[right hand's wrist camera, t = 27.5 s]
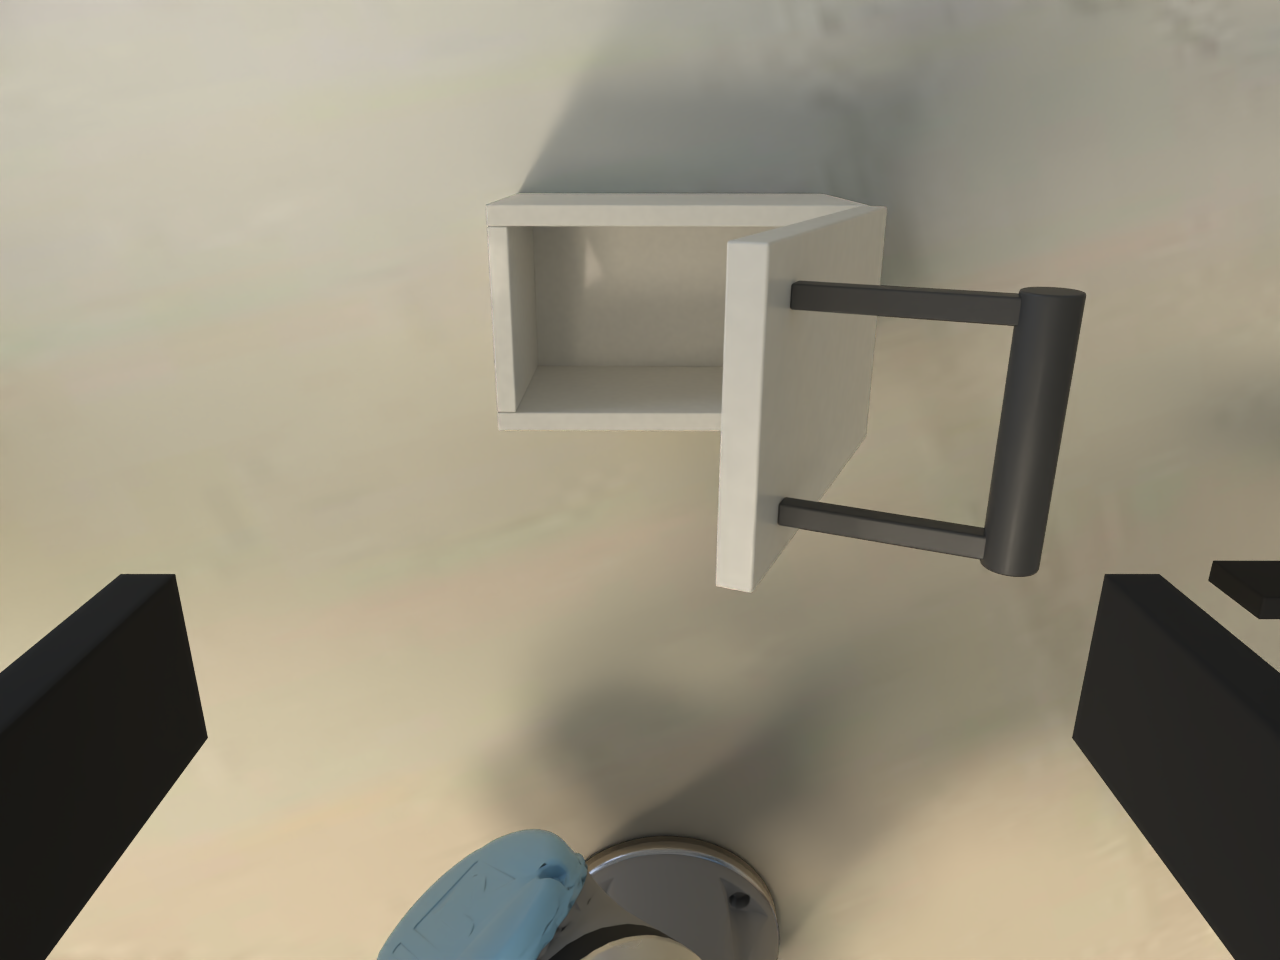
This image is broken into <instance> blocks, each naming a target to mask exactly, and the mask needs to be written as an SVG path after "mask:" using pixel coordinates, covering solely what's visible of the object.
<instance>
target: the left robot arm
mask: <svg viewBox="0 0 1280 960" xmlns="http://www.w3.org/2000/svg"><path fill="white" fill-rule="evenodd" d="M1208 581H1210V582H1211V583H1212V584H1214V585H1215V586H1216V587H1217V588H1219V589H1220V590H1221V591H1223V592H1224V593H1225V594H1227V595H1228V596H1229V597H1231V598H1232V599H1233V600H1235V601H1236V602H1237V603H1239V604H1240V605H1241V606H1242V607H1244V608H1245V609H1246V610H1248V611H1249V612H1250V613H1252V614H1253V615H1254V616H1256V617H1257V618H1258V619H1280V561H1213V563H1212V567H1211V572H1210V576H1209V580H1208ZM778 952H779V929H778V922H777V917H776V911H775V906H774V902H773V899H772V897H771V894H770V892H769V890H768V888H767V886H766V884H765V883H764V881H763V880H762V878H761V877H760V876H759V875H758V874H757V872H756V871H755V870H754V869H753V868H752V867H751V866H750V865H748V864H747V863H746V862H745V861H743V860H742V859H741V858H739V857H738V856H736V855H735V854H733V853H731V852H730V851H728V850H726V849H723V848H721V847H719V846H716V845H714V844H711V843H708V842H705V841H701V840H697V839H692V838H686V837H678V836H654V837H645V838H639V839H634V840H630V841H627V842H623V843H620V844H617V845H615V846H612V847H610V848H608V849H606V850H604V851H602V852H600V853H598V854H596V855H595V856H593V857H592V858H590V859H589V860H588V861H586V862H585V860H584V858H583V856H582V855H581V854H579V853H574V852H573V850H572V849H571V848H570V847H569V846H568V845H567V844H566V843H565V842H564V841H563V840H562V839H561V838H560V837H559V836H557V835H556V834H553V833H551V832H549V831H544V830H537V829H530V830H522V831H518V832H514V833H510V834H507V835H505V836H502V837H500V838H497V839H495V840H493V841H491V842H490V843H488V844H487V845H485V846H484V847H482V848H480V849H478V850H476V851H474V852H473V853H471V854H470V855H468V856H467V857H465V858H464V859H463V860H461V861H460V862H458V863H457V864H456V865H455V866H453V867H452V868H451V869H450V870H449V871H447V872H446V873H445V874H444V875H443V876H442V877H441V878H439V879H438V880H437V881H436V882H435V883H434V884H433V885H432V886H431V887H430V888H429V889H428V890H427V891H426V892H425V893H424V894H423V895H422V896H421V897H420V898H419V899H418V901H417V902H416V903H415V904H414V905H413V906H412V907H411V908H410V910H409V911H408V912H407V913H406V915H405V916H404V917H403V918H402V920H401V921H400V922H399V923H398V925H397V926H396V928H395V929H394V930H393V932H392V933H391V935H390V936H389V937H388V939H387V941H386V942H385V944H384V946H383V947H382V949H381V951H380V952H379V955H378V958H377V960H777V959H778Z"/></svg>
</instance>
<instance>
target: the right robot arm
mask: <svg viewBox="0 0 1280 960" xmlns="http://www.w3.org/2000/svg"><path fill="white" fill-rule="evenodd" d="M207 738H208V736H207V731H206V726H205V721H204V716H203V711H202V706H201V701H200V696H199V691H198V686H197V681H196V676H195V671H194V666H193V661H192V656H191V651H190V646H189V641H188V636H187V631H186V626H185V621H184V616H183V611H182V606H181V601H180V596H179V591H178V586H177V581H176V576H175V574H120V575H119V576H118V577H117V578H116V579H114V580H113V581H112V582H111V583H109V584H108V585H107V586H106V587H105V588H103V589H102V590H101V591H100V592H98V593H97V594H96V595H95V596H94V597H92V598H91V599H90V600H89V601H87V602H86V603H85V604H84V605H83V606H81V607H80V608H79V609H78V610H77V611H75V612H74V613H73V614H72V615H70V616H69V617H68V618H67V619H66V620H64V621H63V622H62V623H61V624H59V625H58V626H57V627H56V628H55V629H53V630H52V631H51V632H50V633H48V634H47V635H46V636H45V637H44V638H42V639H41V640H40V641H39V642H37V643H36V644H35V645H34V646H33V647H31V648H30V649H29V650H28V651H27V652H25V653H24V654H23V655H22V656H20V657H19V658H18V659H17V660H16V661H14V662H13V663H12V664H11V665H9V666H8V667H7V668H6V669H5V670H3V671H2V672H1V673H0V960H45V959H46V958H47V956H48V955H49V954H50V952H51V951H52V950H53V948H54V947H55V946H56V944H57V943H58V941H59V940H60V939H61V937H62V936H63V935H64V933H65V932H66V931H67V929H68V928H69V926H70V925H71V924H72V922H73V921H74V920H75V918H76V917H77V916H78V914H79V913H80V911H81V910H82V909H83V907H84V906H85V905H86V903H87V902H88V901H89V899H90V898H91V896H92V895H93V894H94V892H95V891H96V890H97V888H98V887H99V886H100V884H101V883H102V881H103V880H104V879H105V877H106V876H107V875H108V873H109V872H110V871H111V869H112V868H113V866H114V865H115V864H116V862H117V861H118V860H119V858H120V857H121V856H122V854H123V853H124V851H125V850H126V849H127V847H128V846H129V845H130V843H131V842H132V841H133V839H134V838H135V836H136V835H137V834H138V832H139V831H140V830H141V828H142V827H143V826H144V824H145V823H146V821H147V820H148V819H149V817H150V816H151V815H152V813H153V812H154V811H155V809H156V808H157V806H158V805H159V804H160V802H161V801H162V800H163V798H164V797H165V796H166V794H167V793H168V791H169V790H170V789H171V787H172V786H173V785H174V783H175V782H176V780H177V779H178V778H179V776H180V775H181V774H182V772H183V771H184V770H185V768H186V767H187V765H188V764H189V763H190V761H191V760H192V759H193V757H194V756H195V755H196V753H197V752H198V750H199V749H200V748H201V746H202V745H203V744H204V742H205V741H206V740H207ZM1072 738H1073V740H1074V741H1075V742H1076V744H1077V745H1078V746H1079V748H1080V749H1081V750H1082V752H1083V753H1084V755H1085V756H1086V757H1087V759H1088V760H1089V761H1090V763H1091V764H1092V765H1093V767H1094V768H1095V770H1096V771H1097V772H1098V774H1099V775H1100V776H1101V778H1102V779H1103V781H1104V782H1105V783H1106V785H1107V786H1108V787H1109V789H1110V790H1111V791H1112V793H1113V794H1114V796H1115V797H1116V798H1117V800H1118V801H1119V802H1120V804H1121V805H1122V806H1123V808H1124V809H1125V811H1126V812H1127V813H1128V815H1129V816H1130V817H1131V819H1132V820H1133V821H1134V823H1135V824H1136V826H1137V827H1138V828H1139V830H1140V831H1141V832H1142V834H1143V835H1144V836H1145V838H1146V839H1147V841H1148V842H1149V843H1150V845H1151V846H1152V847H1153V849H1154V850H1155V851H1156V853H1157V854H1158V856H1159V857H1160V858H1161V860H1162V861H1163V862H1164V864H1165V865H1166V866H1167V868H1168V869H1169V871H1170V872H1171V873H1172V875H1173V876H1174V877H1175V879H1176V880H1177V881H1178V883H1179V884H1180V886H1181V887H1182V888H1183V890H1184V891H1185V892H1186V894H1187V895H1188V896H1189V898H1190V899H1191V901H1192V902H1193V903H1194V905H1195V906H1196V907H1197V909H1198V910H1199V911H1200V913H1201V914H1202V916H1203V917H1204V918H1205V920H1206V921H1207V922H1208V924H1209V925H1210V926H1211V928H1212V929H1213V931H1214V932H1215V933H1216V935H1217V936H1218V937H1219V939H1220V940H1221V941H1222V943H1223V944H1224V946H1225V947H1226V948H1227V950H1228V951H1229V952H1230V954H1231V955H1232V956H1233V958H1234V959H1235V960H1280V673H1279V672H1278V671H1277V670H1275V669H1274V668H1273V667H1272V666H1271V665H1269V664H1268V663H1267V662H1266V661H1264V660H1263V659H1262V658H1261V657H1260V656H1258V655H1257V654H1256V653H1255V652H1253V651H1252V650H1251V649H1250V648H1249V647H1247V646H1246V645H1245V644H1244V643H1243V642H1241V641H1240V640H1239V639H1238V638H1236V637H1235V636H1234V635H1233V634H1232V633H1230V632H1229V631H1228V630H1227V629H1225V628H1224V627H1223V626H1222V625H1221V624H1219V623H1218V622H1217V621H1216V620H1214V619H1213V618H1212V617H1211V616H1210V615H1208V614H1207V613H1206V612H1205V611H1203V610H1202V609H1201V608H1200V607H1199V606H1197V605H1196V604H1195V603H1194V602H1193V601H1191V600H1190V599H1189V598H1188V597H1186V596H1185V595H1184V594H1183V593H1182V592H1180V591H1179V590H1178V589H1177V588H1175V587H1174V586H1173V585H1172V584H1171V583H1169V582H1168V581H1167V580H1166V579H1164V578H1163V577H1162V576H1161V575H1160V574H1105V576H1104V581H1103V586H1102V591H1101V596H1100V601H1099V606H1098V611H1097V616H1096V621H1095V626H1094V631H1093V636H1092V641H1091V646H1090V651H1089V656H1088V661H1087V666H1086V671H1085V676H1084V681H1083V686H1082V691H1081V696H1080V701H1079V706H1078V711H1077V716H1076V721H1075V726H1074V731H1073V736H1072Z"/></svg>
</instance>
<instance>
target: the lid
mask: <svg viewBox="0 0 1280 960" xmlns="http://www.w3.org/2000/svg"><path fill="white" fill-rule="evenodd" d="M886 217H887V207H885V206H859V207H855V208H851V209H847V210H843V211H840V212H836V213H832V214H828V215H825V216H821V217H817V218H813V219H809V220H806V221H802V222H798V223H794V224H791V225H787V226H783V227H779V228H776V229H772V230H768V231H764V232H760V233H757V234H753V235H749V236H745V237H742V238H738V239H734V240H730V241H728V243H727V265H726V294H725V324H724V353H723V382H722V411H721V441H720V470H719V499H718V528H717V557H716V586H718V587H723V588H728V589H732V590H737V591H742V592H747V593H752V592H753V591H754V590H755V588H756V587H757V585H758V584H759V583H760V581H761V580H762V579H763V577H764V576H765V574H766V573H767V572H768V570H769V569H770V568H771V566H772V565H773V563H774V562H775V561H776V559H777V558H778V557H779V555H780V554H781V552H782V551H783V550H784V548H785V547H786V546H787V544H788V543H789V542H790V540H791V539H792V537H793V536H794V535H795V533H796V532H797V531H798V529H804V530H810V531H816V532H822V533H828V534H834V535H840V536H845V537H851V538H857V539H863V540H869V541H875V542H881V543H887V544H892V545H898V546H904V547H910V548H916V549H922V550H928V551H934V552H939V553H945V554H951V555H957V556H963V557H969V558H975V559H980V562H981V564H982V565H983V566H984V567H985V568H987V569H988V570H990V571H992V572H995V573H998V574H1002V575H1006V576H1013V577H1026V576H1031V575H1034V574H1035V573H1037V571H1038V570H1039V565H1040V559H1041V554H1042V548H1043V542H1044V536H1045V530H1046V525H1047V519H1048V513H1049V507H1050V502H1051V496H1052V490H1053V484H1054V478H1055V473H1056V467H1057V461H1058V455H1059V449H1060V444H1061V438H1062V432H1063V426H1064V420H1065V415H1066V409H1067V403H1068V397H1069V392H1070V386H1071V380H1072V374H1073V368H1074V363H1075V357H1076V351H1077V345H1078V339H1079V334H1080V328H1081V322H1082V316H1083V311H1084V305H1085V299H1086V294H1085V293H1084V292H1082V291H1079V290H1074V289H1067V288H1056V287H1028V288H1023V289H1021V290H1020V291H1019V294H1016V293H1000V292H983V291H966V290H950V289H933V288H916V287H900V286H883V285H880V281H881V271H882V260H883V249H884V238H885V228H886ZM877 316H886V317H900V318H913V319H927V320H941V321H954V322H968V323H982V324H995V325H1009V326H1014V330H1013V337H1012V344H1011V351H1010V358H1009V364H1008V371H1007V378H1006V385H1005V392H1004V399H1003V405H1002V412H1001V419H1000V426H999V433H998V439H997V446H996V453H995V460H994V467H993V473H992V480H991V487H990V494H989V501H988V507H987V514H986V521H985V528H981V527H974V526H968V525H962V524H955V523H949V522H943V521H936V520H930V519H923V518H917V517H911V516H904V515H898V514H892V513H885V512H879V511H872V510H866V509H860V508H853V507H847V506H841V505H834V504H828V503H822V502H819V500H820V499H821V498H822V496H823V495H824V494H825V492H826V491H827V489H828V488H829V487H830V485H831V484H832V483H833V481H834V480H835V478H836V477H837V476H838V474H839V473H840V472H841V470H842V469H843V467H844V466H845V465H846V463H847V462H848V461H849V459H850V458H851V456H852V455H853V454H854V452H855V451H856V450H857V448H858V447H859V446H860V444H861V443H862V441H863V440H864V439H865V437H866V431H867V421H868V410H869V399H870V388H871V378H872V367H873V356H874V346H875V335H876V324H877Z"/></svg>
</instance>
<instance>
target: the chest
mask: <svg viewBox="0 0 1280 960" xmlns="http://www.w3.org/2000/svg"><path fill="white" fill-rule="evenodd" d="M859 206H869V205H866V204H862V203H858V202H854V201H850V200H846V199H842V198H838V197H834V196H830V195H826V194H753V193H517V194H514V195H511V196H509V197H506V198H503V199H500V200H498V201H495V202H492V203H490V204H487V205H486V222H487V226H488V227H487V238H488V255H489V273H490V291H491V309H492V327H493V345H494V363H495V380H496V398H497V411H498V413H497V417H498V430H499V431H721V411H722V382H723V353H724V324H725V294H726V265H727V243H728V241H730V240H734V239H738V238H742V237H745V236H749V235H753V234H757V233H760V232H764V231H768V230H772V229H776V228H779V227H783V226H787V225H791V224H794V223H798V222H802V221H806V220H809V219H813V218H817V217H821V216H825V215H828V214H832V213H836V212H840V211H843V210H847V209H851V208H855V207H859Z"/></svg>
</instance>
